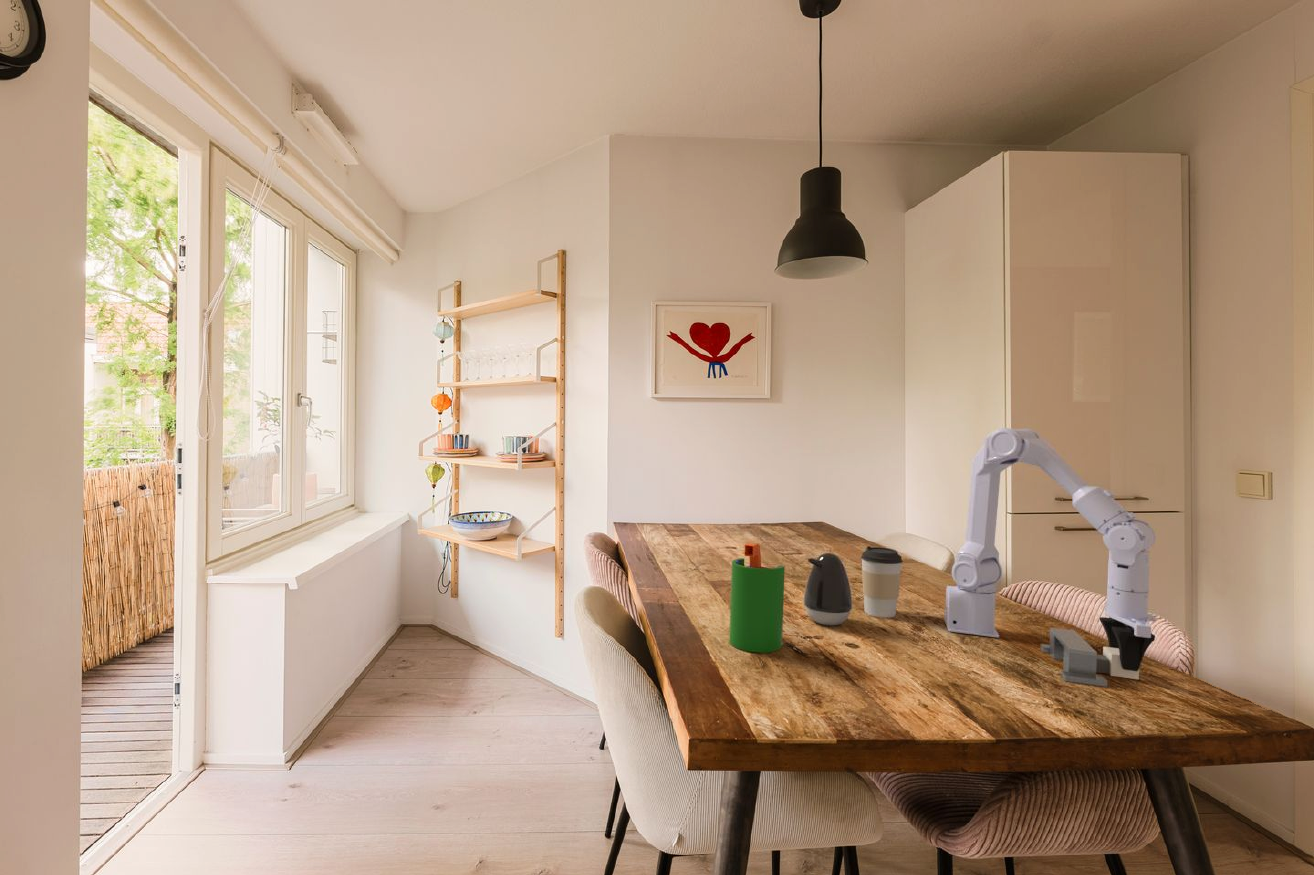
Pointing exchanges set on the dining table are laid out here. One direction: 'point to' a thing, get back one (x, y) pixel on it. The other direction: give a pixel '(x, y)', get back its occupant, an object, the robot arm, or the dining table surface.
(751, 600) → the motor
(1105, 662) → the plug
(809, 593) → the black penguin figurine
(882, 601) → the coffee cup
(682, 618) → the dining table surface
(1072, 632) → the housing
